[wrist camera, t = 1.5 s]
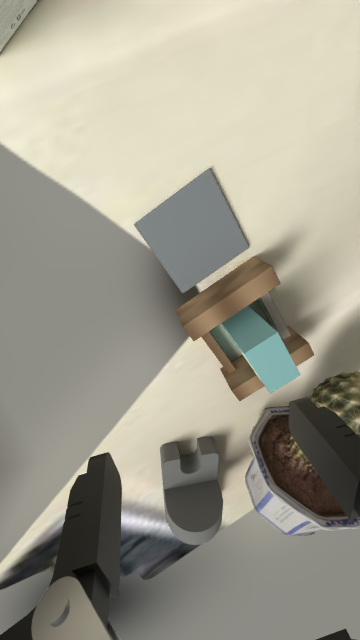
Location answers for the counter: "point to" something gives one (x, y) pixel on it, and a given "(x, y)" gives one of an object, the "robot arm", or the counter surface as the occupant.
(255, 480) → the potted plant
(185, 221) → the mat
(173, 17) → the counter surface
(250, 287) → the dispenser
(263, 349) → the teal box
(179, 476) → the cable clip
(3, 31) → the small box
